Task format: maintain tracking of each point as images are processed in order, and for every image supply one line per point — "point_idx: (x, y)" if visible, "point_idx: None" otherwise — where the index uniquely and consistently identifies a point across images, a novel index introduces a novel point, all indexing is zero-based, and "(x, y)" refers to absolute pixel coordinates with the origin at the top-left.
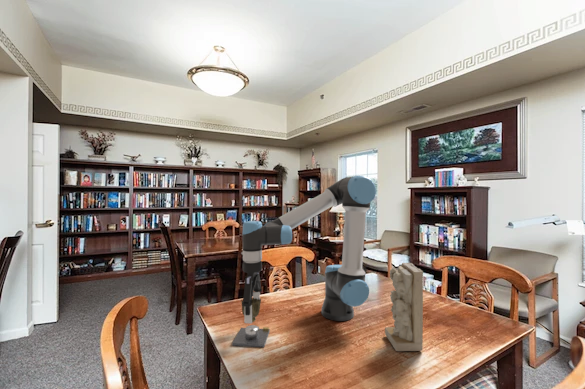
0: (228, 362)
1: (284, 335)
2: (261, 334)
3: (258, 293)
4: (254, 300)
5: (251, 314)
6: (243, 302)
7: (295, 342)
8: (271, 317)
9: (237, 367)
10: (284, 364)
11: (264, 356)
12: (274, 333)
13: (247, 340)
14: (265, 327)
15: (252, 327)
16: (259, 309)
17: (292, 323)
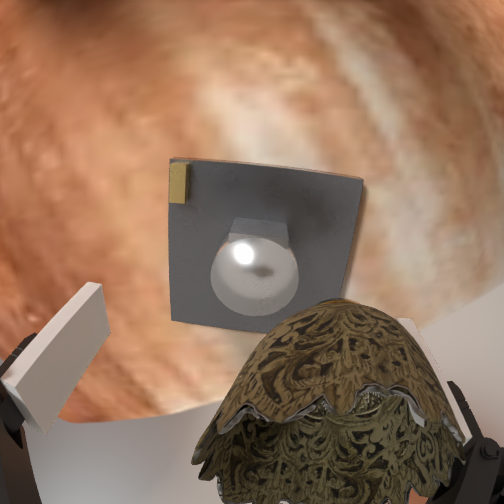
0: (439, 316)
1: (219, 62)
2: (241, 203)
3: (25, 388)
4: (215, 432)
5: (438, 369)
6: (499, 498)
7: (302, 4)
8: (33, 176)
9: (473, 279)
10: (482, 91)
11: (432, 173)
12: (195, 124)
13: (310, 275)
14: (170, 187)
15: (245, 277)
16: (372, 325)
17: (82, 46)
